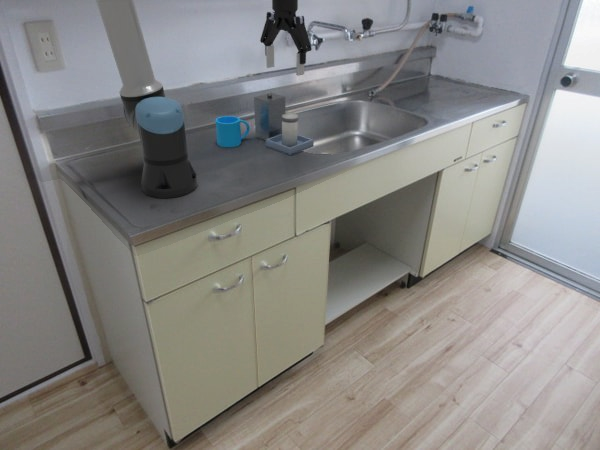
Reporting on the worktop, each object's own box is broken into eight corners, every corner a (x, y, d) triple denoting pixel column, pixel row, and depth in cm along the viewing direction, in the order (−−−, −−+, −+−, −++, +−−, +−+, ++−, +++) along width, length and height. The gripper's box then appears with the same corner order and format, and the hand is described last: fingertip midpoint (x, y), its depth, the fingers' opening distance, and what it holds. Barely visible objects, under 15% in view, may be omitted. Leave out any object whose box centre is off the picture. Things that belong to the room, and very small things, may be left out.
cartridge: (289, 149, 151) (290, 119, 146) (278, 144, 154) (278, 115, 149) (300, 144, 155) (301, 116, 149) (289, 140, 158) (290, 112, 152)
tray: (290, 155, 148) (290, 148, 147) (265, 146, 155) (265, 139, 153) (313, 146, 155) (313, 139, 154) (289, 137, 162) (289, 131, 160)
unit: (269, 141, 158) (268, 99, 150) (255, 136, 162) (254, 94, 154) (286, 135, 163) (285, 94, 156) (272, 130, 167) (271, 90, 160)
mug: (223, 149, 152) (221, 125, 148) (213, 141, 158) (211, 118, 154) (255, 142, 158) (254, 119, 153) (244, 135, 163) (243, 112, 159)
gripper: (325, -2, 128) (322, 76, 139) (266, -8, 143) (267, 62, 154) (306, 0, 123) (305, 80, 135) (247, -7, 138) (250, 65, 149)
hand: (284, 71), depth 144 cm, fingers open, 13 cm apart
